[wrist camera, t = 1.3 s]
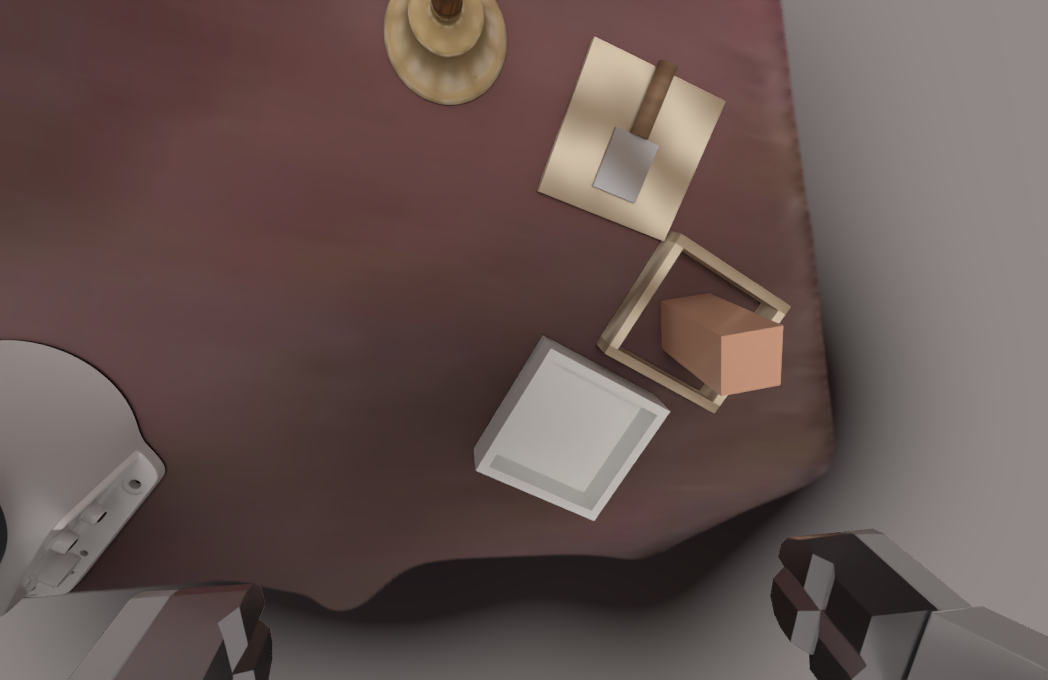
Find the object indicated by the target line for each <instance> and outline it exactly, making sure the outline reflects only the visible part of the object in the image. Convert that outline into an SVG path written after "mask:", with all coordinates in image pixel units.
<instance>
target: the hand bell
mask: <svg viewBox="0 0 1048 680" xmlns="http://www.w3.org/2000/svg"><path fill="white" fill-rule="evenodd" d="M384 41H385V46H386V51H387V54H388V57H389V59H390V62H391V64H392V66H393V68H394V69H395V71H396V73H397V74H398V76H399V77H400V79H401V80H402V81H403V82H404V83H405V84H406V85H407V87H408V88H410V89H411V90H412V91H413V92H414V93H416V94H417V95H419V96H420V97H422V98H424V99H426V100H429V101H431V102H435V103H438V104H442V105H457V104H463V103H466V102H469V101H472V100H474V99H476V98H477V97H479V96H481V95H482V94H483V93H485V92H486V91H487V90H488V89H489V88H490V87H491V86H492V85H493V83H494V82H495V80H496V79H497V77H498V75H499V74H500V72H501V69H502V67H503V64H504V60H505V56H506V50H507V32H506V26H505V22H504V18H503V15H502V12H501V10H500V8H499V6H498V4H497V2H496V0H390V1H389V3H388V6H387V10H386V13H385V20H384Z"/></svg>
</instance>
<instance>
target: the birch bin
mask: <svg viewBox="0 0 1048 680" xmlns="http://www.w3.org/2000/svg"><path fill="white" fill-rule="evenodd" d="M681 252H683V253H684V254H686V255H687V256H689V257H690V258H692V259H694V260H695V261H697V262H698V263H700V264H701V265H703V266H704V267H706V268H707V269H709V270H710V271H712V272H714V273H715V274H717V275H718V276H720V277H721V278H723V279H724V280H726V281H727V282H729V283H730V284H732V285H733V286H735V287H737V288H738V289H740V290H741V291H743V292H744V293H746V294H747V295H749V296H750V297H752V298H753V299H755V300H757V301H758V302H760V305H759V306H758V308H757V309H756V311H755V312H754V313H756V314H758V315H760V316H763V317H765V318H767V319H769V320H772V321H774V322H776V323H780V321H781V320H782V319H783V317H784V316H785V314H786V313H787V312H788V310H789V309H790V308H791V306H789V305H788V304H786V303H785V302H783V301H782V300H780V299H779V298H777V297H776V296H774V295H773V294H771V293H770V292H768V291H767V290H765V289H764V288H762V287H761V286H759V285H758V284H756V283H755V282H753V281H752V280H750V279H749V278H747V277H746V276H744V275H743V274H741V273H740V272H738V271H737V270H735V269H734V268H732V267H731V266H729V265H728V264H726V263H725V262H723V261H722V260H720V259H719V258H717V257H716V256H714V255H713V254H711V253H710V252H708V251H707V250H705V249H704V248H702V247H701V246H699V245H698V244H696V243H695V242H693V241H692V240H690V239H689V238H687V237H686V236H684V235H683V234H680V233H676V232H672V231H668V234H667V236H666V238H665V240H664V241H661V242H660V244H659V245H658V247H657V248H656V250H655V252H654V253H653V255H652V256H651V258H650V259H649V261H648V263H647V264H646V266H645V267H644V269H643V270H642V272H641V274H640V275H639V277H638V278H637V280H636V281H635V283H634V285H633V286H632V288H631V289H630V291H629V292H628V294H627V296H626V297H625V299H624V300H623V302H622V303H621V305H620V307H619V308H618V310H617V311H616V313H615V314H614V316H613V318H612V319H611V321H610V322H609V324H608V325H607V327H606V329H605V330H604V332H603V333H602V335H601V336H600V338H599V340H598V341H597V343H596V345H597V346H598V347H599V348H600V349H601V350H602V351H603V352H604V353H605V354H606V355H608V356H610V357H612V358H614V359H616V360H617V361H619V362H621V363H623V364H625V365H627V366H628V367H630V368H632V369H634V370H636V371H638V372H639V373H641V374H643V375H645V376H647V377H649V378H650V379H652V380H654V381H656V382H658V383H660V384H661V385H663V386H665V387H667V388H669V389H671V390H672V391H674V392H676V393H678V394H680V395H682V396H683V397H685V398H687V399H689V400H691V401H693V402H694V403H696V404H698V405H700V406H702V407H704V408H705V409H707V410H709V411H711V412H713V413H715V412H716V411H717V409H718V408H719V406H720V405H721V404H722V402H723V401H724V399H725V398H726V397H727V395H725V396H720V395H719V394H718V393H716V392H715V391H714V390H713V389H711V388H710V387H709V386H708V385H706V384H705V383H704V385H703V386H702V387H701V389H700V390H697V389H695V388H694V387H692V386H690V385H688V384H686V383H685V382H683V381H681V380H679V379H677V378H676V377H674V376H672V375H670V374H668V373H667V372H665V371H663V370H661V369H659V368H658V367H656V366H654V365H652V364H650V363H649V362H647V361H645V360H643V359H641V358H640V357H638V356H636V355H634V354H632V353H631V352H629V351H627V350H625V349H623V348H622V347H620V345H621V344H622V342H623V341H624V339H625V338H626V336H627V334H628V333H629V331H630V330H631V328H632V327H633V325H634V324H635V322H636V321H637V319H638V318H639V316H640V314H641V313H642V311H643V310H644V308H645V307H646V305H647V304H648V302H649V301H650V299H651V298H652V296H653V294H654V293H655V291H656V290H657V288H658V287H659V285H660V284H661V282H662V281H663V279H664V278H665V276H666V274H667V273H668V271H669V270H670V268H671V267H672V265H673V264H674V262H675V261H676V259H677V257H678V256H679V254H680V253H681Z"/></svg>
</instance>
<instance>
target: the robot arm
mask: <svg viewBox="0 0 1048 680" xmlns="http://www.w3.org/2000/svg"><path fill="white" fill-rule="evenodd" d="M164 474H165V467H164V465H163V463H162V461H161V460H160V458H159V457H158V456H157V455H156V454H155V453H154V451H153V450H152V449H151V448H150V447H149V446H148V445H147V444H146V443H145V442H144V440H143V438H142V437H141V434H140V432H139V429H138V426H137V423H136V420H135V417H134V415H133V413H132V410H131V409H130V407H129V405H128V403H127V402H126V400H125V399H124V397H123V396H122V394H121V393H120V392H119V391H118V390H117V388H116V387H115V386H114V385H113V384H112V383H111V382H110V381H109V380H108V379H107V378H106V377H105V376H103V375H102V374H101V373H100V372H98V371H97V370H96V369H94V368H93V367H91V366H90V365H88V364H87V363H85V362H83V361H82V360H80V359H78V358H76V357H74V356H72V355H70V354H68V353H65V352H63V351H60V350H58V349H55V348H52V347H49V346H45V345H41V344H37V343H32V342H25V341H15V340H0V616H2V615H4V614H5V613H7V612H8V611H9V610H10V609H11V608H13V607H14V606H15V605H16V604H17V603H18V602H19V601H20V600H21V599H22V598H23V597H48V596H57V595H63V594H66V593H68V592H69V591H70V590H71V589H73V588H74V587H75V586H76V585H77V584H78V583H79V582H80V581H81V580H82V578H83V577H84V576H85V575H86V573H87V572H88V571H89V570H90V568H91V567H92V566H93V565H94V563H95V562H96V561H97V560H98V558H99V557H100V556H101V555H102V553H103V552H104V551H105V550H106V548H107V547H108V546H109V545H110V543H111V542H112V541H113V540H114V538H115V537H116V536H117V534H118V533H119V532H120V531H121V529H122V528H123V527H124V526H125V524H126V523H127V522H128V521H129V519H130V518H131V517H132V516H133V514H134V513H135V512H136V511H137V509H138V508H139V507H140V506H141V504H142V503H143V502H144V501H145V499H146V498H147V497H148V496H149V494H150V493H151V492H152V490H153V489H154V488H155V487H156V485H157V484H158V483H159V482H160V480H161V479H162V478H163V476H164ZM135 480H138V481H139V482H140V483H141V484H139V483H137V482H136V481H135ZM778 557H779V559H780V561H781V563H782V564H783V566H784V568H783V569H782V570H781V571H780V572H779V573H778V574H777V575H776V576H775V577H774V579H773V582H772V588H771V594H770V597H771V602H772V607H773V611H774V615H775V617H776V619H777V621H778V624H779V626H780V628H781V629H782V631H783V632H784V634H785V635H786V636H787V638H788V639H789V641H790V642H791V643H793V644H794V645H796V646H797V647H799V648H800V649H802V650H803V651H805V652H806V653H808V654H809V663H810V670H811V671H812V673H813V674H814V676H815V677H816V678H817V680H1048V636H1046V635H1044V634H1042V633H1039V632H1037V631H1035V630H1033V629H1031V628H1029V627H1026V626H1024V625H1022V624H1020V623H1018V622H1015V621H1013V620H1011V619H1009V618H1007V617H1005V616H1002V615H1000V614H998V613H996V612H994V611H991V610H989V609H987V608H985V607H983V606H981V607H972V606H971V605H970V604H968V603H967V602H966V601H965V600H964V599H963V598H961V597H960V596H959V595H958V594H956V593H955V592H954V591H953V590H952V589H951V588H949V587H948V586H947V585H946V584H945V583H943V582H942V581H941V580H940V579H938V578H937V577H936V576H935V575H934V574H933V573H931V572H930V571H929V570H928V569H927V568H925V567H924V566H923V565H922V564H921V563H919V562H918V561H917V560H916V559H915V558H913V557H912V556H911V555H910V554H908V553H907V552H906V551H905V550H904V549H902V548H901V547H900V546H899V545H898V544H897V543H895V542H894V541H893V540H892V539H890V538H889V537H888V536H887V535H886V534H884V533H882V532H880V531H877V530H875V529H864V530H854V531H845V532H842V533H840V532H837V533H828V534H817V535H807V536H796V537H787V538H786V540H785V541H784V542H783V543H782V544H781V547H780V551H779V555H778ZM264 606H265V601H264V597H263V593H262V589H261V586H259V585H256V584H244V585H228V586H213V587H196V588H182V589H180V590H163V591H144V592H141V593H139V594H137V595H136V596H134V597H133V598H131V599H130V600H129V601H128V602H127V603H126V605H125V606H124V607H123V608H122V610H121V611H120V612H119V614H118V615H117V616H116V618H115V619H114V620H113V622H112V623H111V624H110V625H109V627H108V628H107V629H106V631H105V632H104V633H103V635H102V636H101V637H100V638H99V640H98V641H97V642H96V644H95V645H94V646H93V648H92V649H91V650H90V651H89V653H88V654H87V656H86V657H85V658H84V659H83V661H82V662H81V663H80V664H79V666H78V667H77V668H76V670H75V671H74V672H73V674H72V675H71V676H70V678H69V679H68V680H269V675H270V669H271V663H272V637H271V631H270V628H269V627H268V626H266V625H265V624H264V623H263V622H262V621H260V620H259V618H260V615H261V613H262V611H263V608H264Z"/></svg>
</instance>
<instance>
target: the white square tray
mask: <svg viewBox="0 0 1048 680" xmlns="http://www.w3.org/2000/svg"><path fill="white" fill-rule="evenodd" d="M669 413H670V411H669V410H668V409H667V408H666V406H665V405H664V404H663V403H662V402H661V401H660V400H659V399H658V398H657V397H656V396H655V395H654V394H652V393H651V392H649V391H647V390H645V389H643V388H641V387H639V386H637V385H636V384H634V383H632V382H630V381H628V380H626V379H624V378H622V377H621V376H619V375H617V374H615V373H613V372H611V371H609V370H608V369H606V368H604V367H602V366H600V365H598V364H596V363H594V362H593V361H591V360H589V359H587V358H585V357H583V356H581V355H579V354H578V353H576V352H574V351H572V350H570V349H568V348H566V347H565V346H563V345H561V344H559V343H557V342H555V341H553V340H551V339H550V338H548V337H546V336H544V335H542V337H541V339H540V340H539V342H538V344H537V345H536V347H535V349H534V350H533V352H532V354H531V355H530V357H529V358H528V360H527V362H526V363H525V365H524V367H523V368H522V370H521V372H520V373H519V375H518V377H517V378H516V380H515V381H514V383H513V385H512V386H511V388H510V390H509V391H508V393H507V395H506V396H505V398H504V400H503V401H502V403H501V404H500V406H499V408H498V409H497V411H496V413H495V414H494V416H493V418H492V419H491V421H490V423H489V424H488V426H487V427H486V429H485V431H484V432H483V434H482V436H481V437H480V439H479V441H478V442H477V444H476V446H475V447H474V459H475V470H476V471H478V472H480V473H482V474H485V475H487V476H489V477H492V478H494V479H496V480H499V481H501V482H503V483H506V484H508V485H511V486H513V487H515V488H518V489H520V490H522V491H525V492H527V493H529V494H532V495H534V496H536V497H539V498H541V499H544V500H546V501H548V502H551V503H553V504H555V505H558V506H560V507H562V508H565V509H567V510H569V511H572V512H574V513H576V514H579V515H581V516H584V517H586V518H588V519H591V520H593V521H595V519H596V518H597V516H598V515H599V513H600V512H601V510H602V509H603V508H604V506H605V505H606V503H607V502H608V500H609V499H610V498H611V496H612V495H613V493H614V492H615V490H616V489H617V487H618V486H619V485H620V483H621V482H622V480H623V479H624V477H625V476H626V475H627V473H628V472H629V470H630V469H631V467H632V466H633V464H634V463H635V462H636V460H637V459H638V457H639V456H640V454H641V453H642V451H643V450H644V449H645V447H646V446H647V444H648V443H649V441H650V440H651V439H652V437H653V436H654V434H655V433H656V431H657V430H658V428H659V427H660V426H661V424H662V423H663V421H664V420H665V418H666V417H667V416H668V414H669Z"/></svg>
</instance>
